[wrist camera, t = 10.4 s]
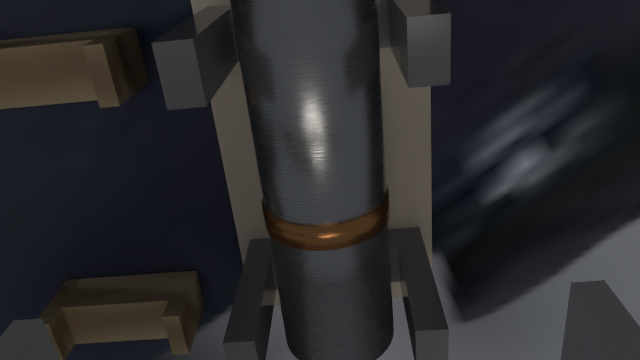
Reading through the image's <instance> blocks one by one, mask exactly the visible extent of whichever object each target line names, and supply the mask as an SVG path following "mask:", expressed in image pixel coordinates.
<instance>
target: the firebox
mask: <svg viewBox="0 0 640 360" xmlns="http://www.w3.org/2000/svg"><path fill="white" fill-rule="evenodd" d="M191 5H192V10H193V16H191V17H190V18H188V19H187V20H185V21H184V22H182V23H181V24H179V25H178V26H176V27H175V28H173V29H172V30H170V31H169V32H167V33H166V34H164V35H163V36H161V37H160V38H158V39H157V40H155V41H153V42H152V43H151V44H152V48H153V52H154V56H155V60H156V65H157V69H158V73H159V77H160V81H161V86H162V90H163V94H164V98H165V102H166V106H167V110H174V109H185V108H196V107H207V105H208V104H209V102H210V101H211V106H212V111H213V116H214V121H215V126H216V131H217V136H218V141H219V146H220V151H221V156H222V161H223V166H224V171H225V176H226V181H227V186H228V191H229V196H230V201H231V206H232V211H233V216H234V221H235V226H236V231H237V236H238V241H239V246H240V251H241V256H242V261H243V268H242V272H241V276H240V280H239V284H238V287H237V291H236V295H235V299H234V303H233V306H232V310H231V314H230V318H229V322H228V325H227V329H226V333H225V337H224V341H223V346H224V349H225V354H226V358H227V360H265V359H266V353H267V346H268V340H269V333H270V326H271V320H272V313H273V307H274V305H281V304H280V298H279V292H278V286H277V280H276V274H275V268H274V262H273V256H272V250H271V245H270V239H269V234H268V232H267V230H266V227H265V221H264V215H263V209H262V198H263V197H262V191H261V185H260V179H259V173H258V167H257V161H256V155H255V149H254V143H253V137H252V132H251V126H250V120H249V114H248V108H247V102H246V96H245V90H244V84H243V78H242V72H241V66H240V60H239V54H238V48H237V42H236V36H235V30H234V24H233V19H232V13H231V7H230V1H229V0H191ZM377 13H378V32H379V52H380V72H381V91H382V111H383V131H384V150H385V170H386V185H387V187H388V191H389V208H390V216H389V220H388V229H389V249H390V268H391V288H392V297H403V301H404V307H405V312H406V317H407V323H408V328H409V334H410V338H411V344H412V350H413V355H414V360H448V326H447V323H446V319H445V315H444V312H443V308H442V305H441V301H440V298H439V294H438V291H437V287H436V284H435V281H434V277H433V274H432V198H431V86H438V85H449V84H450V71H451V13H450V12H449V11H448V10H446V9H445V8H444V7H442V6H441V5H440V4H438V3H437V2H436V1H435V0H377Z"/></svg>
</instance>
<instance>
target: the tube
mask: <svg viewBox="0 0 640 360" xmlns="http://www.w3.org/2000/svg"><path fill="white" fill-rule="evenodd" d="M229 1H230V7H231V13H232V19H233V24H234V30H235V36H236V42H237V48H238V54H239V60H240V66H241V72H242V78H243V84H244V90H245V96H246V102H247V108H248V114H249V120H250V126H251V132H252V137H253V143H254V149H255V155H256V161H257V167H258V173H259V179H260V185H261V191H262V197H263V198H262V209H263V215H264V221H265V227H266V230H267V232H268V234H269V239H270V245H271V250H272V256H273V262H274V268H275V274H276V280H277V286H278V292H279V298H280V304H281V309H282V316H283V322H284V328H285V334H286V339H287V344H288V347H289V349H290V351H291V352H292V354H293V355H294V356H295V357H296V358H297V359H299V360H376V359H377V358H379V357H380V356H381V355H382V354H383V353H384V352H385V351H386V350H387V348H388V347H389V345H390V343H391V341H392V338H393V331H394V330H393V329H394V328H393V309H392V288H391V268H390V249H389V229H388V220H389V216H390V208H389V191H388V187H387V185H386V170H385V150H384V131H383V111H382V91H381V72H380V52H379V32H378V13H377V0H229Z"/></svg>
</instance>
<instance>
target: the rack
mask: <svg viewBox="0 0 640 360" xmlns="http://www.w3.org/2000/svg"><path fill="white" fill-rule="evenodd" d="M148 82H149V78H148V74H147V70H146V66H145V62H144V58H143V54H142V50H141V46H140V42H139V38H138V34H137V30H136V27H126V28H116V29H106V30H96V31H87V32H77V33H67V34H57V35H47V36H38V37H28V38H18V39H8V40H0V109H7V108H17V107H28V106H39V105H50V104H60V103H71V102H82V101H93V100H98V103H99V107H100V108H105V107H116V106H121V105H122V104H123V103H124V102H125V101H127V100H128V99H129V98H130V97H131V96H132V95H134V94H135V93H136V92H137V91H138V90H139V89H141V88H142V87H143V86H144V85H145V84H146V83H148ZM204 307H205V304H204V300H203V296H202V292H201V288H200V284H199V280H198V276H197V272H196V271H184V272H170V273H156V274H142V275H127V276H113V277H99V278H85V279H71V280H66V281H65V283H64V284H63V285H62V287H61V288H60V289H59V291H58V292H57V293H56V295H55V296H54V297H53V299H52V300H51V301H50V303H49V304H48V305H47V307H46V308H45V309H44V311H43V312H42V314H41V315H40V316H39V318H38V319H43V322H44V324H45V327H46V329H47V331H48V334H49V336H50V338H51V341H52V343H53V345H54V348H55V350H56V352H57V355H58V357H59V359H60V360H65V359H66V358H67V356H68V354H69V353H70V351H71V349H72V348H73V346H74V344H84V343H100V342H116V341H132V340H148V339H164V338H168V339H169V342H170V346H171V349H172V353H173V355H177V354H189V352H190V349H191V346H192V343H193V340H194V337H195V334H196V331H197V328H198V325H199V322H200V319H201V316H202V313H203V310H204Z"/></svg>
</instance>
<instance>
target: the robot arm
mask: <svg viewBox="0 0 640 360" xmlns="http://www.w3.org/2000/svg"><path fill="white" fill-rule="evenodd" d="M0 360H60V359H59V357H58V355H57V352H56V350H55V348H54V345H53V343H52V341H51V338H50V336H49V334H48V331H47V329H46V327H45V324H44V322H43V319H28V320H13V321H12V323H11V324H10V325H9V326H8V328H7V329H6V330H5V331H4V333H3V334H2V335H1V336H0ZM561 360H640V327H639V325H638V324H637V323H636V321H635V320H634V319H633V317H632V316H631V315H630V314H629V312H628V311H627V310H626V308H625V307H624V306H623V304H622V303H621V302H620V301H619V299H618V298H617V296H616V295H615V294H614V293H613V292H612V290H611V289H610V287H609V286H608V285H607V283H606V282H605V281H604V280H603V281H588V282H574V283H571V289H570V296H569V303H568V311H567V319H566V326H565V334H564V341H563V348H562V355H561Z"/></svg>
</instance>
